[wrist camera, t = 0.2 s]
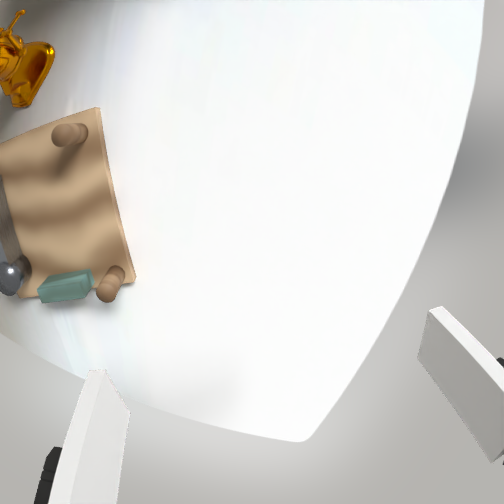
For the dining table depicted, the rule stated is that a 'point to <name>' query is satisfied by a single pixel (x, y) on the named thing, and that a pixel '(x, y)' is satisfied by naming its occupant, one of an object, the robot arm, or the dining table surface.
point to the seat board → (66, 210)
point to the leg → (10, 252)
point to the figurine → (23, 65)
